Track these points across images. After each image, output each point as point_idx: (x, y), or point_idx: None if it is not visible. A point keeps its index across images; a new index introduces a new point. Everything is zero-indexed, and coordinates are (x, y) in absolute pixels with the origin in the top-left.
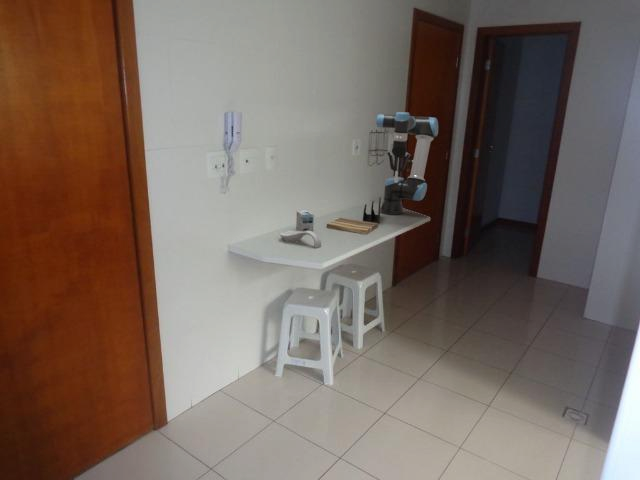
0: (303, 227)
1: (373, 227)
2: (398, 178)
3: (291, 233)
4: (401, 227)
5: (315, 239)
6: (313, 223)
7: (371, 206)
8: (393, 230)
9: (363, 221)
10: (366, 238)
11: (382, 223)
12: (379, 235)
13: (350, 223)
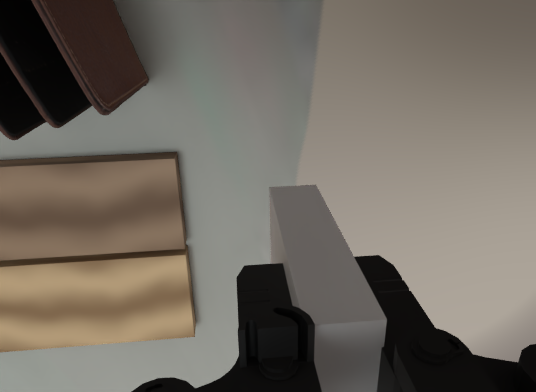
0: None
1: (183, 232)
2: (331, 220)
3: None
4: (307, 68)
5: None
6: None
7: (39, 112)
8: (286, 169)
9: (72, 171)
10: (227, 368)
11: (161, 45)
12: None
13: (43, 264)
